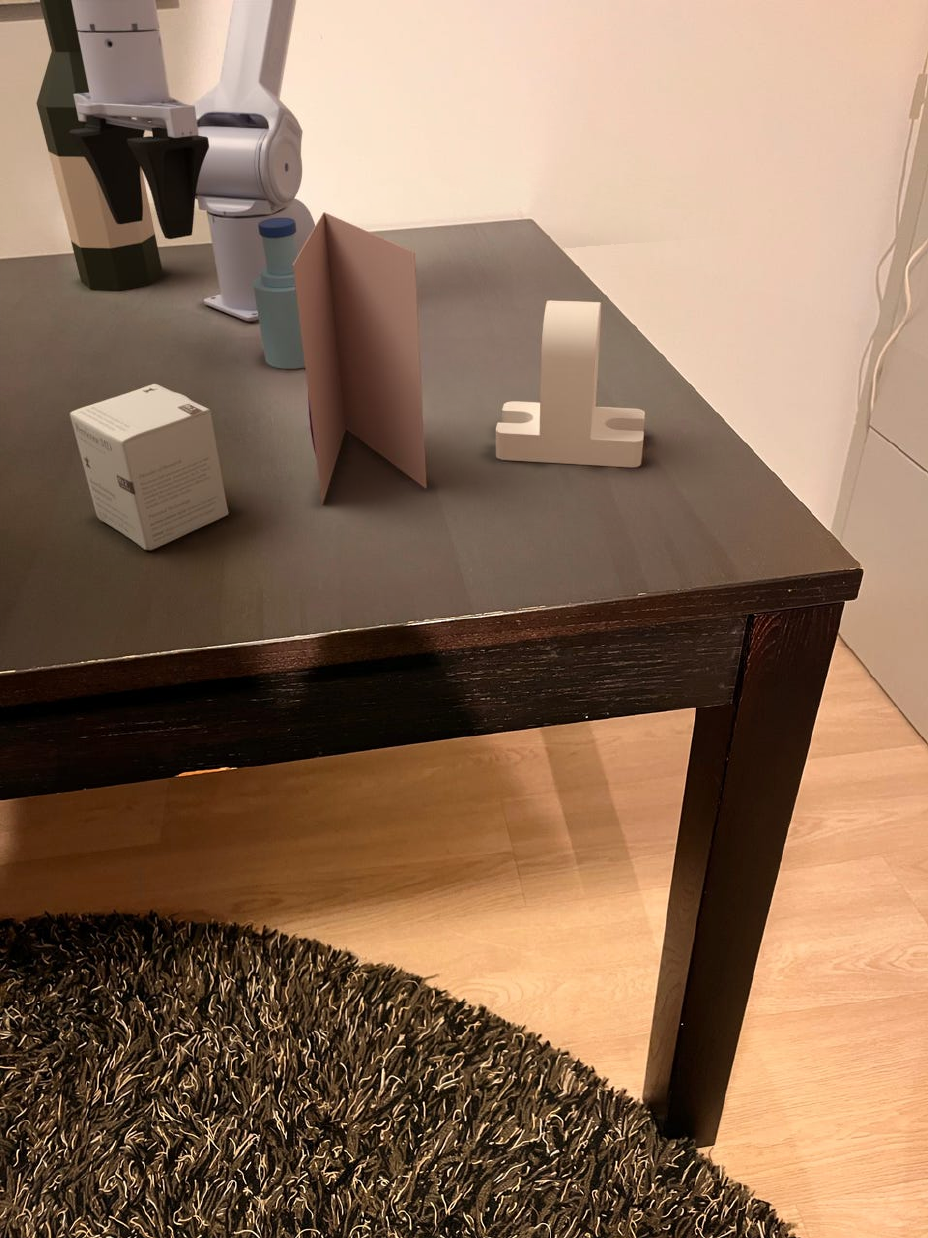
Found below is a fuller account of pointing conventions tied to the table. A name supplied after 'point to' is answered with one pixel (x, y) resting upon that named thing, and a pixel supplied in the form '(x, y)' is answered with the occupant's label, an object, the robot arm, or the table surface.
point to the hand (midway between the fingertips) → (153, 229)
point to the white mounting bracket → (570, 401)
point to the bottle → (279, 295)
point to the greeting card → (360, 345)
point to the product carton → (151, 464)
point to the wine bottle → (88, 172)
